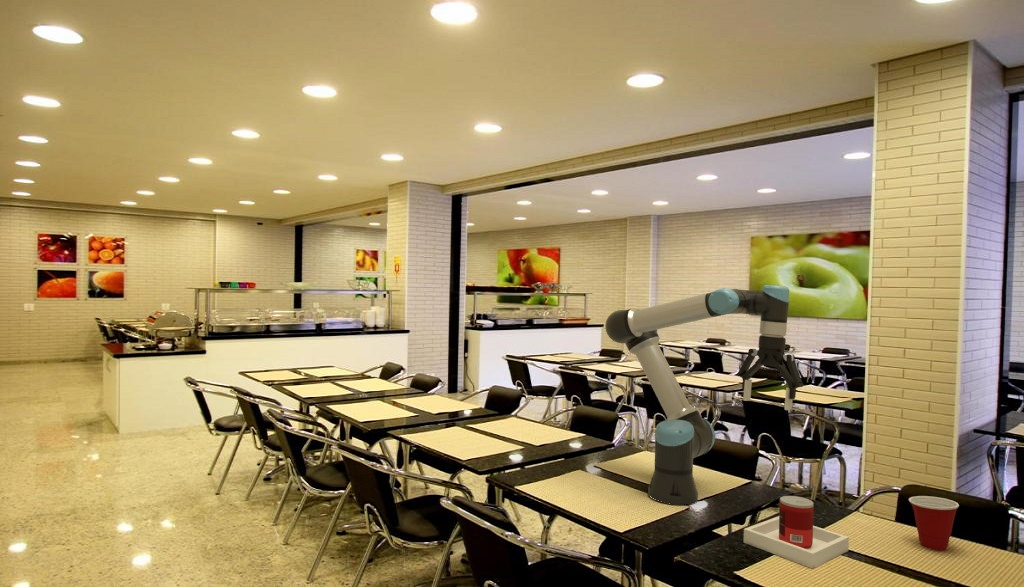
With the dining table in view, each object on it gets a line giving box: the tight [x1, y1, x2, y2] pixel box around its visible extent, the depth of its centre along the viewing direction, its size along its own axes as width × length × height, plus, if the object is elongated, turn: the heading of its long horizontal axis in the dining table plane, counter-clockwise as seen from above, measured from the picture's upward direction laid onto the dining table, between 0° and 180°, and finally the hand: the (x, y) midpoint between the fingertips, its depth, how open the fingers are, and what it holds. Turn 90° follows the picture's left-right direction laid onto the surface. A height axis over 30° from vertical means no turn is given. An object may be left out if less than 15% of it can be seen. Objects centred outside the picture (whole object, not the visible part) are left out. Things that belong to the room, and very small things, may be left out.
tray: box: [743, 515, 850, 569], centre depth 156 cm, size 18×18×4 cm
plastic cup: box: [908, 495, 960, 552], centre depth 159 cm, size 11×11×12 cm
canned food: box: [778, 495, 815, 549], centre depth 156 cm, size 8×8×11 cm
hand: (766, 405), depth 187 cm, fingers open, 13 cm apart
